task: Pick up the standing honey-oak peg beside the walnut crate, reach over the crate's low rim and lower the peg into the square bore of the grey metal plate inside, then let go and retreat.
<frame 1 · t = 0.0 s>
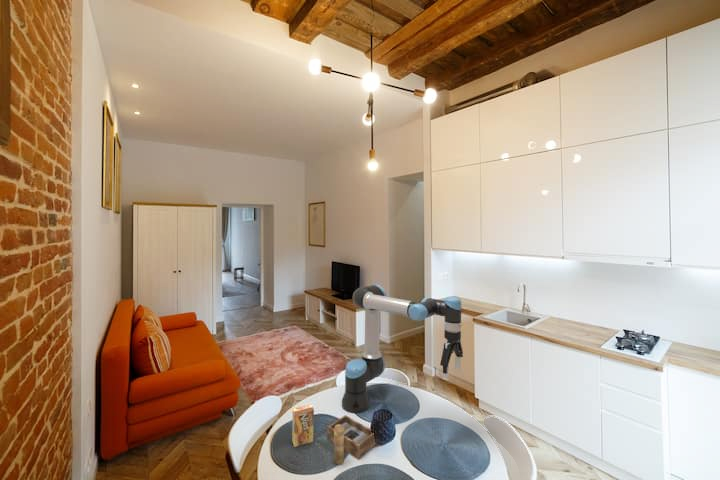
hand: (451, 374, 142), 28 cm above the table, fingers open, 13 cm apart
peg: (338, 460, 123), on the table
crate: (351, 441, 135), on the table
candy box: (302, 442, 134), on the table
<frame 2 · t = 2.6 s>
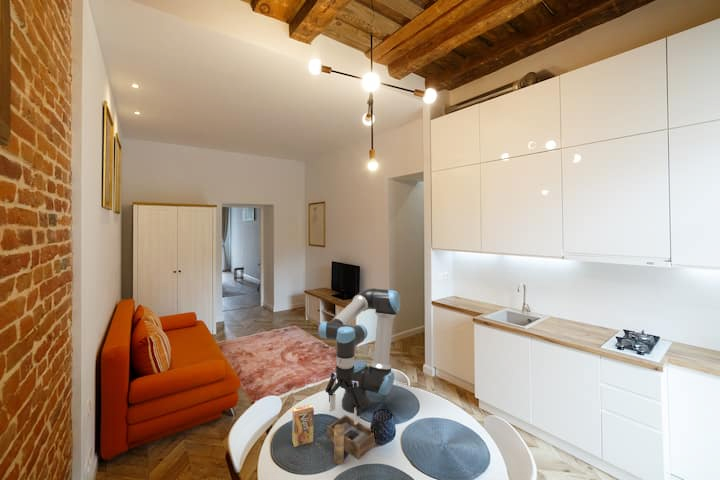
hand: (344, 416, 123), 18 cm above the table, fingers open, 13 cm apart
nothing on the table moved.
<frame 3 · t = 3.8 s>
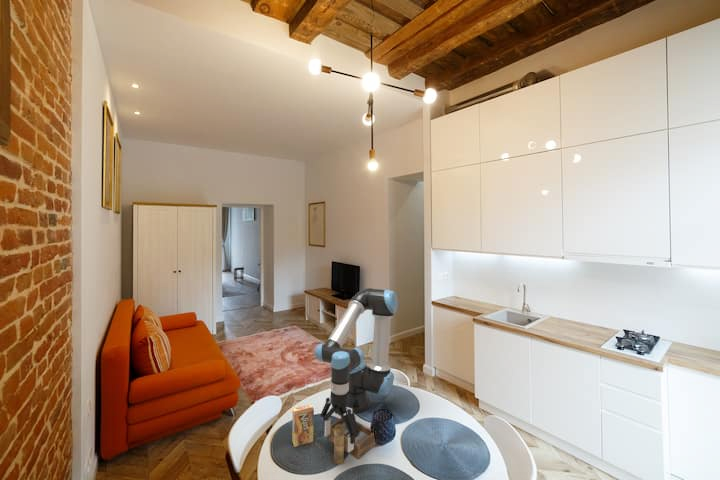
hand: (338, 442, 123), 8 cm above the table, fingers open, 13 cm apart
nothing on the table moved.
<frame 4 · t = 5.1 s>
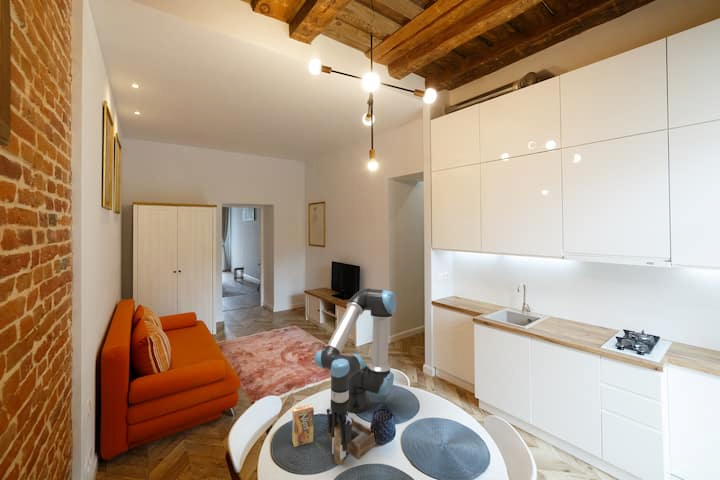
hand: (338, 454, 123), 3 cm above the table, fingers closed on peg, 4 cm apart
peg: (338, 460, 123), on the table, touching gripper
everything else where it was.
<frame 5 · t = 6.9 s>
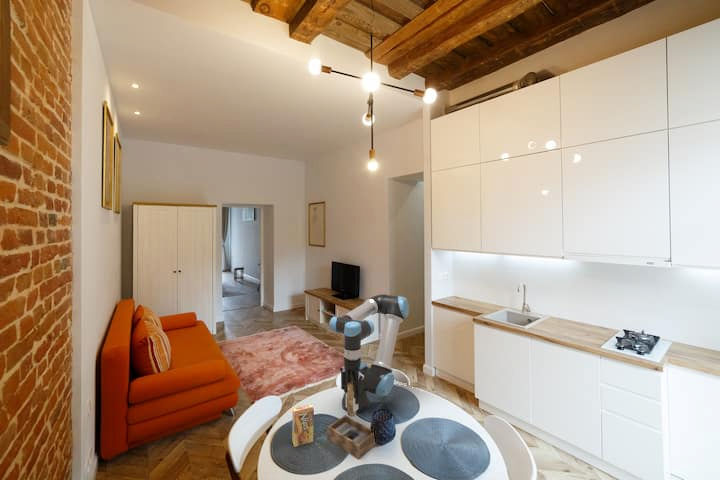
hand: (351, 408, 135), 15 cm above the table, fingers closed on peg, 4 cm apart
peg: (351, 413, 135), point 13 cm above the table, touching gripper
everything else where it was.
when the fingers open (5 cm above the table, at t = 8.7 s): peg drops 1 cm, resting in crate.
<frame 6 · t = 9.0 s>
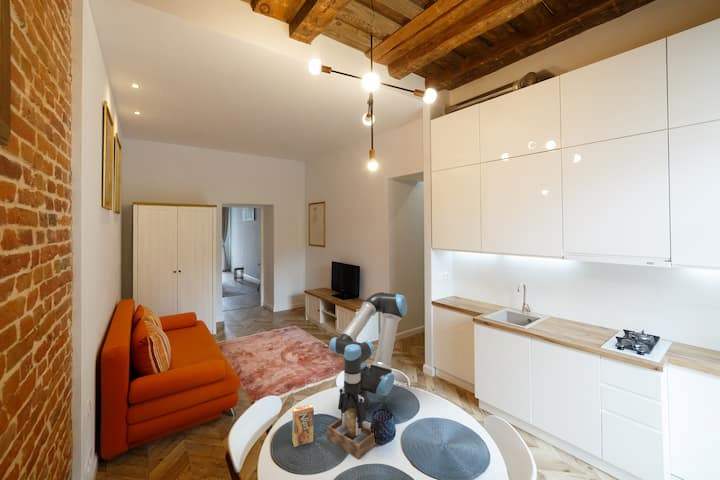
hand: (351, 430, 135), 5 cm above the table, fingers open, 8 cm apart
peg: (351, 441, 135), resting in crate
everything else where it was.
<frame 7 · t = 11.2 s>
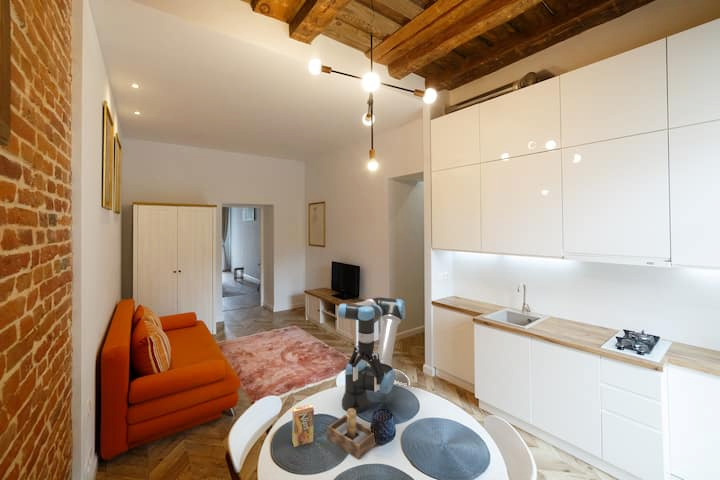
hand: (365, 385, 139), 23 cm above the table, fingers open, 13 cm apart
nothing on the table moved.
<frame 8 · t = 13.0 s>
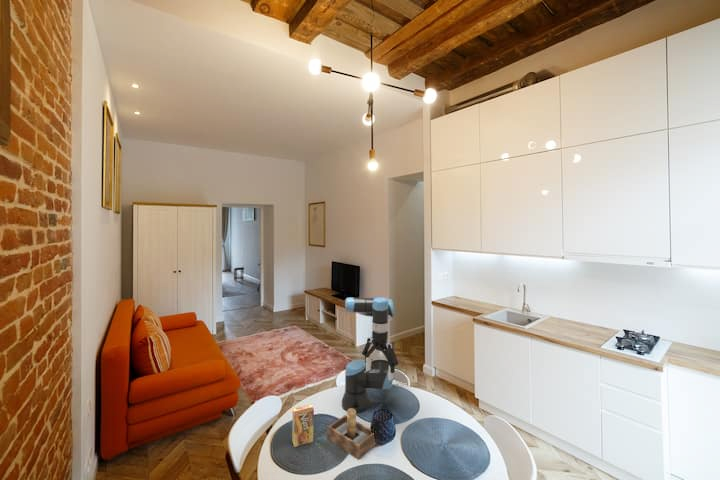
hand: (379, 374, 143), 27 cm above the table, fingers open, 13 cm apart
nothing on the table moved.
at the end: peg 0.1 cm off-centre on the crate, point 0.0 cm above the crate's base; peg tilted 0°; the gripper is holding nothing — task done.
